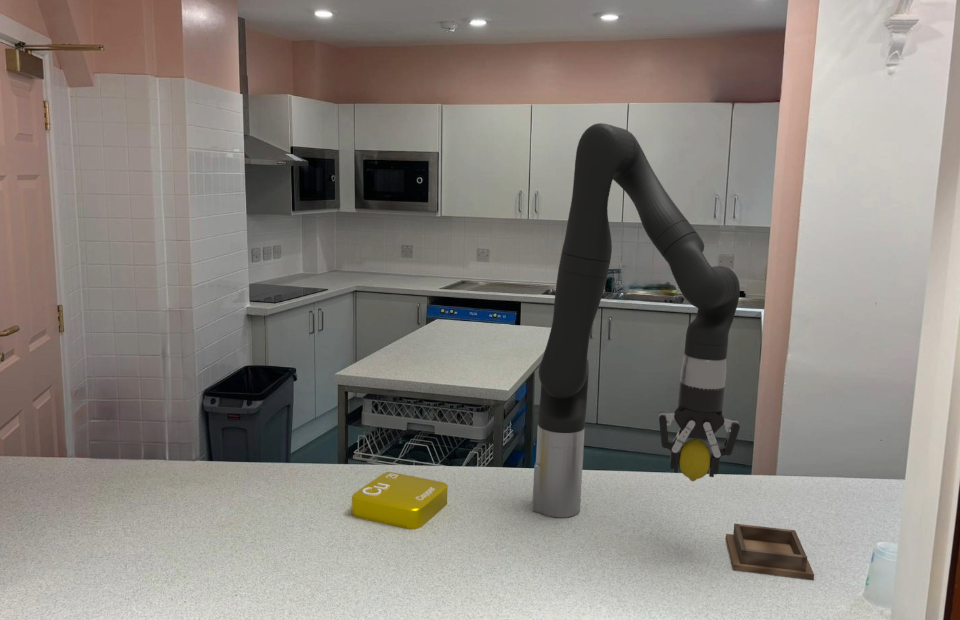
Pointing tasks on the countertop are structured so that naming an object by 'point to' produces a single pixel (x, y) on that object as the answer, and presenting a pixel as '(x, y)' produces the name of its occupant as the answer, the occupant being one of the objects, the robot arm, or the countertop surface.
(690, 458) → the lemon
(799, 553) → the lemon stand
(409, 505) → the element tile
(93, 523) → the countertop surface
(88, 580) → the countertop surface
